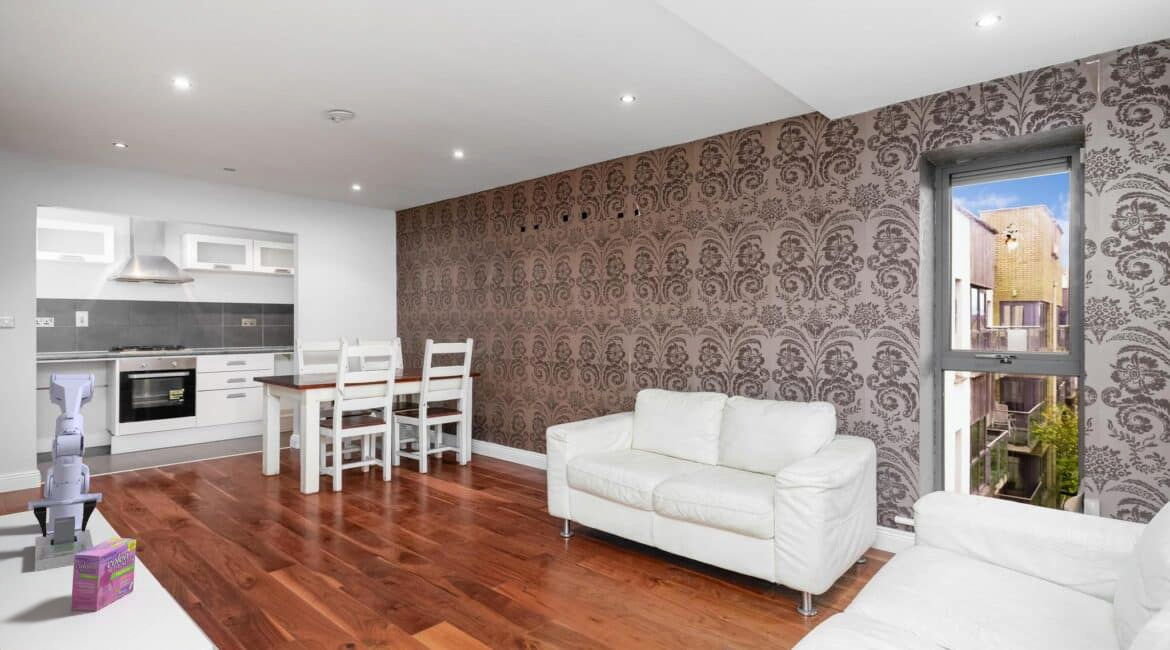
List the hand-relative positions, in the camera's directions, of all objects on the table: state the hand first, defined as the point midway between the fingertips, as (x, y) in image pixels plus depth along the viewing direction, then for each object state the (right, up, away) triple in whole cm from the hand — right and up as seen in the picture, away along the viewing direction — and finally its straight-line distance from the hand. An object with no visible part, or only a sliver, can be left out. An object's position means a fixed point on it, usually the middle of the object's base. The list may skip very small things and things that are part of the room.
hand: (64, 533), depth 159 cm
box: (+31, -6, -26) cm, 41 cm away
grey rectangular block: (0, -4, 0) cm, 4 cm away
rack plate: (+2, -5, -2) cm, 5 cm away
